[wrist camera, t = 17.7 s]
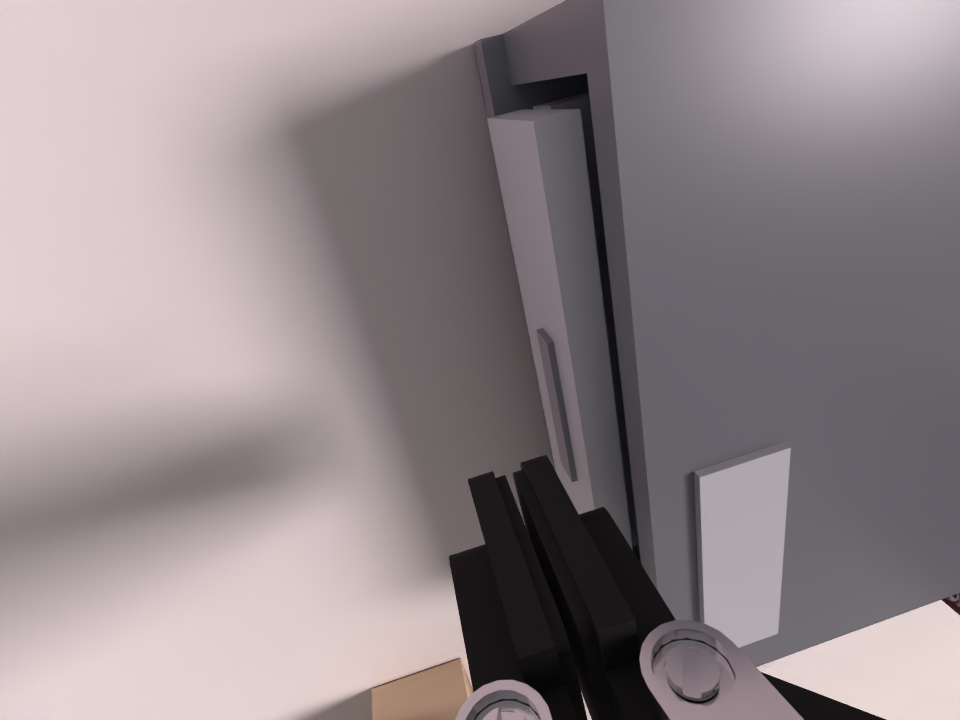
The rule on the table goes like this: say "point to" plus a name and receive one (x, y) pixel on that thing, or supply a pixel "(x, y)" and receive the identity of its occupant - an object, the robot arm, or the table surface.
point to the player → (775, 294)
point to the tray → (568, 297)
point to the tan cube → (423, 695)
